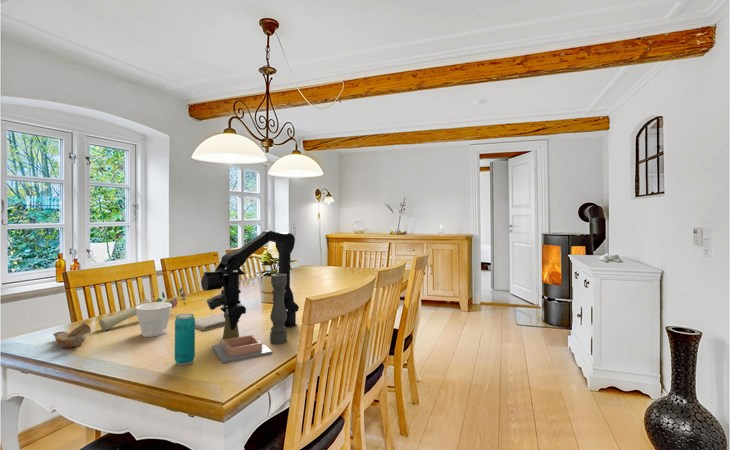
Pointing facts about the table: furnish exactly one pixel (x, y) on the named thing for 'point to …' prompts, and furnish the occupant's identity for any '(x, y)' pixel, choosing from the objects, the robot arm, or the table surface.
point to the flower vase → (132, 312)
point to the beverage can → (184, 339)
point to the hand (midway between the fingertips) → (231, 328)
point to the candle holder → (278, 309)
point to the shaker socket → (240, 348)
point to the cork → (229, 329)
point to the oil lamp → (73, 336)
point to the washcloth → (210, 322)
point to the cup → (153, 318)
